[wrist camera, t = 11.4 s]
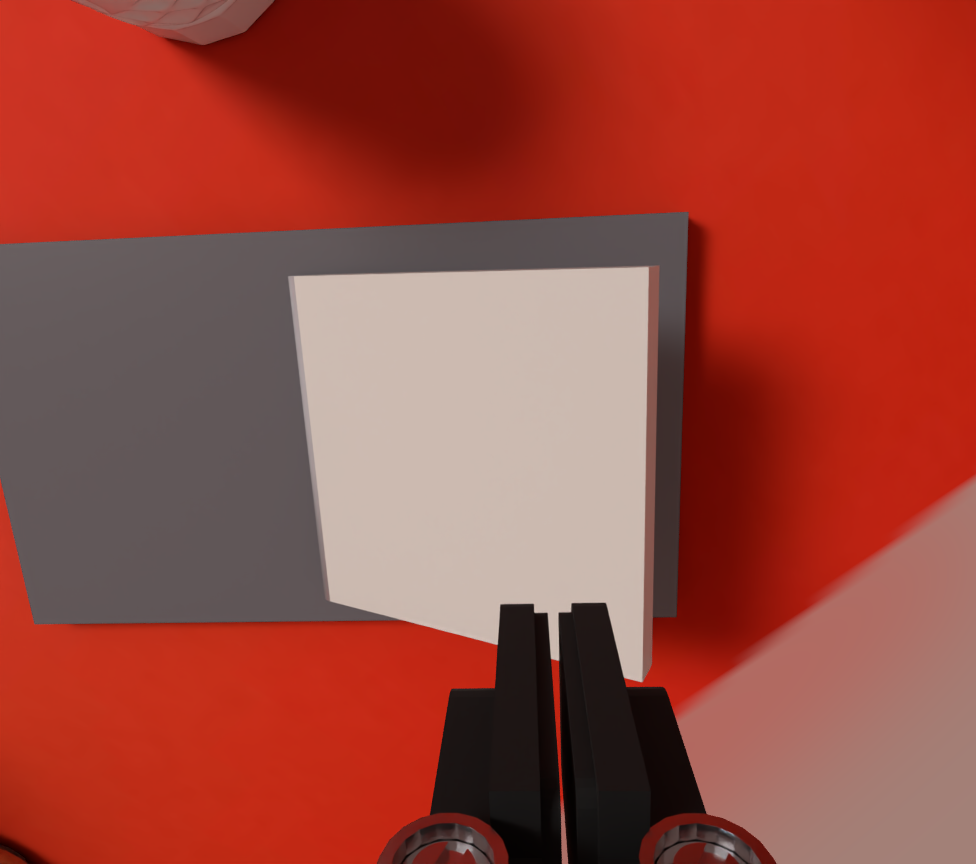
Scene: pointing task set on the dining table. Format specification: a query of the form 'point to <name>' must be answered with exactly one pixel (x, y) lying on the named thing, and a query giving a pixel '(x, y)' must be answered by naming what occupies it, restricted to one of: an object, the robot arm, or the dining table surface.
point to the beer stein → (10, 856)
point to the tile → (484, 444)
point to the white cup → (185, 16)
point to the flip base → (235, 407)
